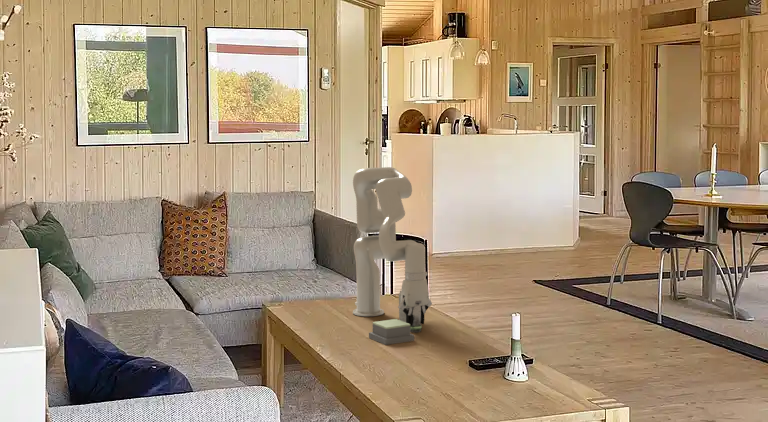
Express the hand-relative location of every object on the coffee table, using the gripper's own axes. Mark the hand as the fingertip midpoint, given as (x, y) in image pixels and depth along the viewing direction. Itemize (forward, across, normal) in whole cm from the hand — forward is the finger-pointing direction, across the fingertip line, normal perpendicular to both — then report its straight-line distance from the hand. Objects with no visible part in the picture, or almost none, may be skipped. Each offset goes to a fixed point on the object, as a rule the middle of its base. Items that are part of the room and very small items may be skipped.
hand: (415, 323), depth 366 cm
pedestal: (+3, +14, +6) cm, 15 cm away
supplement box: (+3, -4, -11) cm, 12 cm away
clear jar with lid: (+3, 0, 0) cm, 3 cm away
